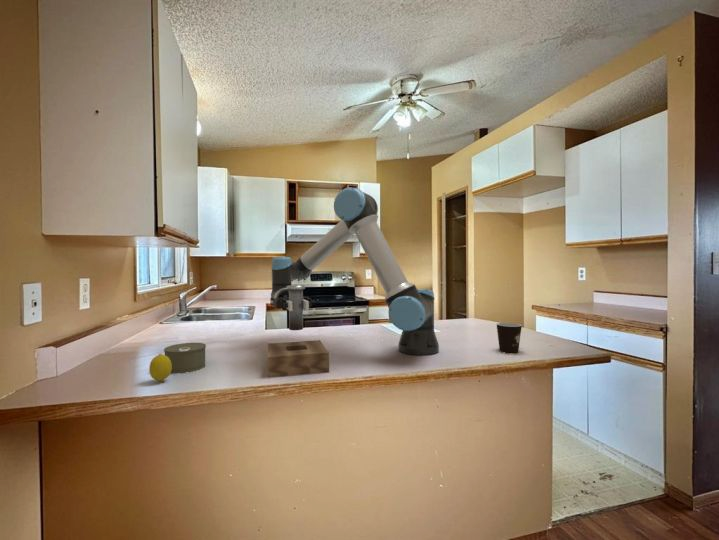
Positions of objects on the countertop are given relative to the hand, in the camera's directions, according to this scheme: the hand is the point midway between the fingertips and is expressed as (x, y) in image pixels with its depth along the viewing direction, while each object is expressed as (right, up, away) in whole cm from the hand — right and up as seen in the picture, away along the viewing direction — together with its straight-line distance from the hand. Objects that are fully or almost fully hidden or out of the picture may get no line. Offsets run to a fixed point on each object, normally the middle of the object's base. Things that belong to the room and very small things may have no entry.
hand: (299, 306), depth 109 cm
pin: (-2, -8, +5) cm, 10 cm away
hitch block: (-2, -20, +5) cm, 21 cm away
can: (-37, -20, +4) cm, 43 cm away
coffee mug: (+75, -19, +23) cm, 81 cm away
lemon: (-38, -21, -9) cm, 44 cm away
